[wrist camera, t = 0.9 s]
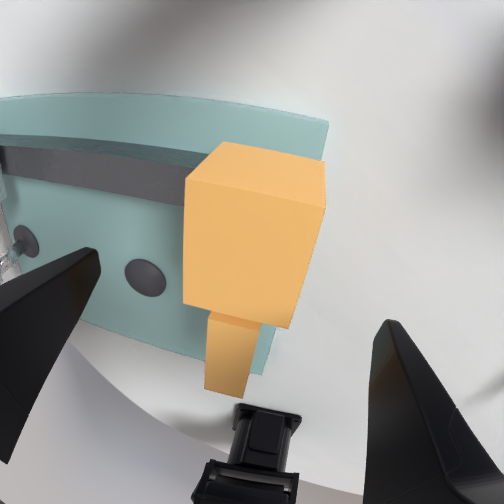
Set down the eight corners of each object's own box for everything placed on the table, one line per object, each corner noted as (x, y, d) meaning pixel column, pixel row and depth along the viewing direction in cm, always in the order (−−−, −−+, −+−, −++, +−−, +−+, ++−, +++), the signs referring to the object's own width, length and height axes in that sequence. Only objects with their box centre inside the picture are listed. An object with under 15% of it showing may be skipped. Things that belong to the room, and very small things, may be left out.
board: (263, 365, 25) (261, 377, 24) (36, 291, 27) (29, 299, 26) (328, 121, 14) (328, 126, 13) (-5, 99, 16) (-18, 103, 15)
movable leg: (277, 325, 20) (261, 404, 15) (214, 310, 20) (185, 384, 15) (324, 150, 13) (325, 208, 9) (233, 132, 14) (185, 178, 9)
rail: (297, 210, 16) (294, 231, 14) (-5, 158, 18) (-24, 169, 16) (306, 173, 15) (304, 190, 13) (-9, 134, 16) (-28, 144, 15)
